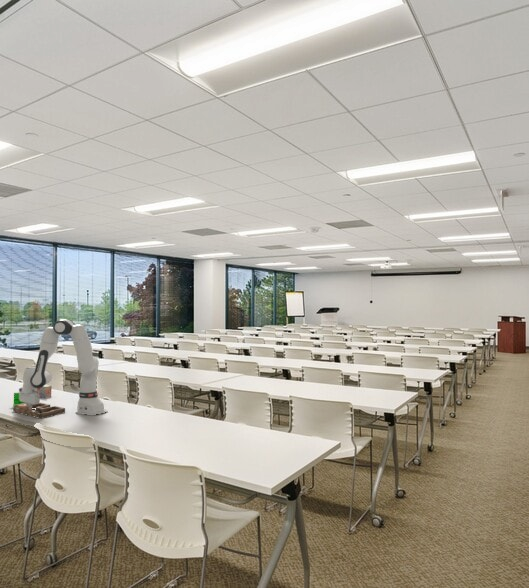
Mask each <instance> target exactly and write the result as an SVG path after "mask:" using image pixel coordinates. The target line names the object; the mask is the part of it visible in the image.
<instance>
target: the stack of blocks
mask: <svg viewBox="0 0 529 588" xmlns="http://www.w3.org/2000/svg"><path fill="white" fill-rule="evenodd" d="M52 387H53V386H52V384H51V385H49V384H46V385H44V386H43V387H41V388H37V392H38V394H39V398H43V399H46V397H47V398H51V397H52V390H53V388H52Z"/></svg>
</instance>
